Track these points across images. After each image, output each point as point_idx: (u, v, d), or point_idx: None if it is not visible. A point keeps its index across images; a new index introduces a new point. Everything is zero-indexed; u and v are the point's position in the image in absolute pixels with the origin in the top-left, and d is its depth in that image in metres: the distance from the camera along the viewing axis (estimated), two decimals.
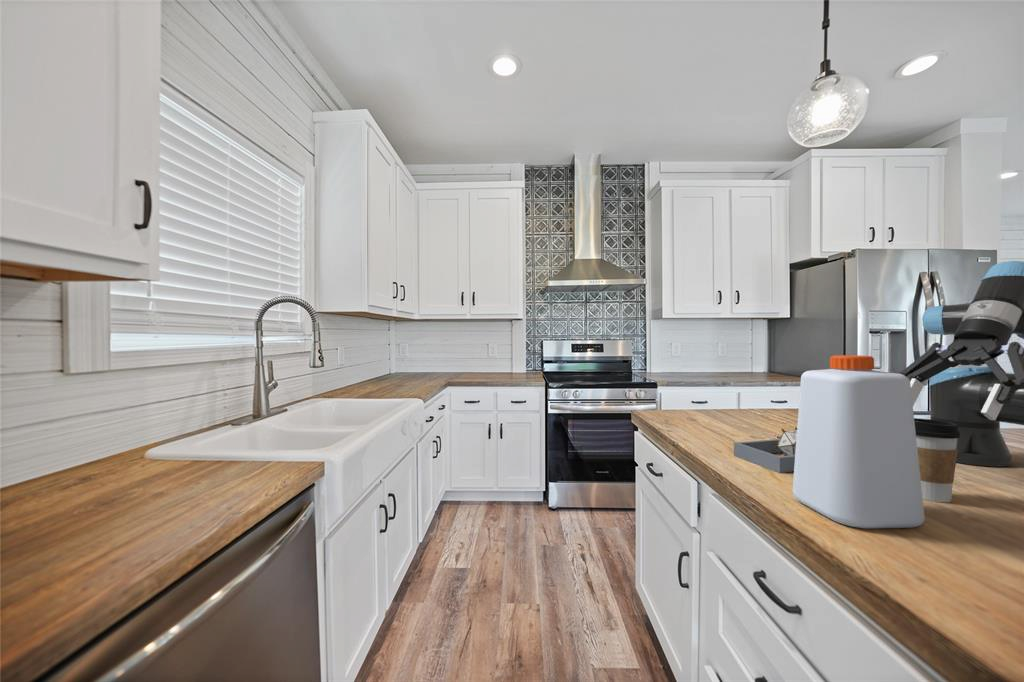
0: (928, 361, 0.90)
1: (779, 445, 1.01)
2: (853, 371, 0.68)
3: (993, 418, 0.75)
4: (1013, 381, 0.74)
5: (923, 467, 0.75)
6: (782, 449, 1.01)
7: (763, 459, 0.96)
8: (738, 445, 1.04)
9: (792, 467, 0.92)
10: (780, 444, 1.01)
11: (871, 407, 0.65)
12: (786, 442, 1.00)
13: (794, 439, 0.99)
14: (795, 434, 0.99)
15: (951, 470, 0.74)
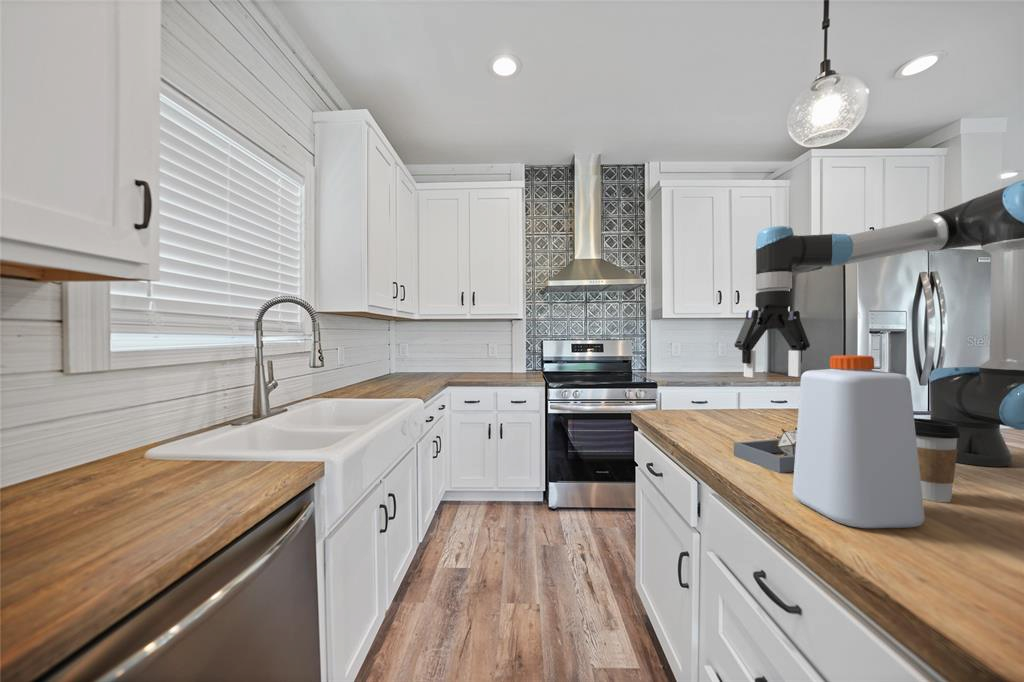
0: (794, 328, 1.00)
1: (779, 445, 1.01)
2: (853, 371, 0.68)
3: None
4: None
5: (923, 467, 0.75)
6: (782, 449, 1.01)
7: (763, 459, 0.96)
8: (738, 445, 1.04)
9: (792, 467, 0.92)
10: (780, 444, 1.01)
11: (871, 407, 0.65)
12: (786, 441, 1.00)
13: (794, 439, 0.99)
14: (795, 434, 0.99)
15: (951, 470, 0.74)
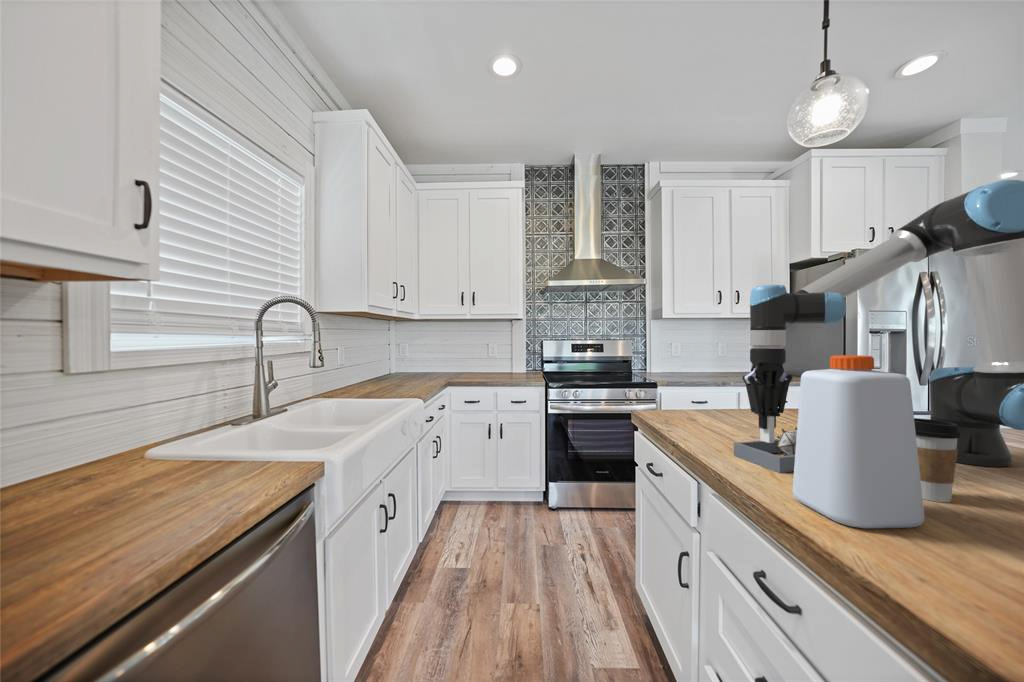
0: (779, 390, 1.00)
1: (779, 445, 1.01)
2: (853, 371, 0.68)
3: (767, 442, 0.98)
4: None
5: (923, 467, 0.75)
6: (782, 449, 1.01)
7: (763, 459, 0.96)
8: (738, 445, 1.04)
9: (792, 467, 0.92)
10: (781, 444, 1.01)
11: (871, 407, 0.65)
12: (786, 442, 1.00)
13: (794, 439, 0.98)
14: (795, 434, 0.99)
15: (951, 470, 0.74)
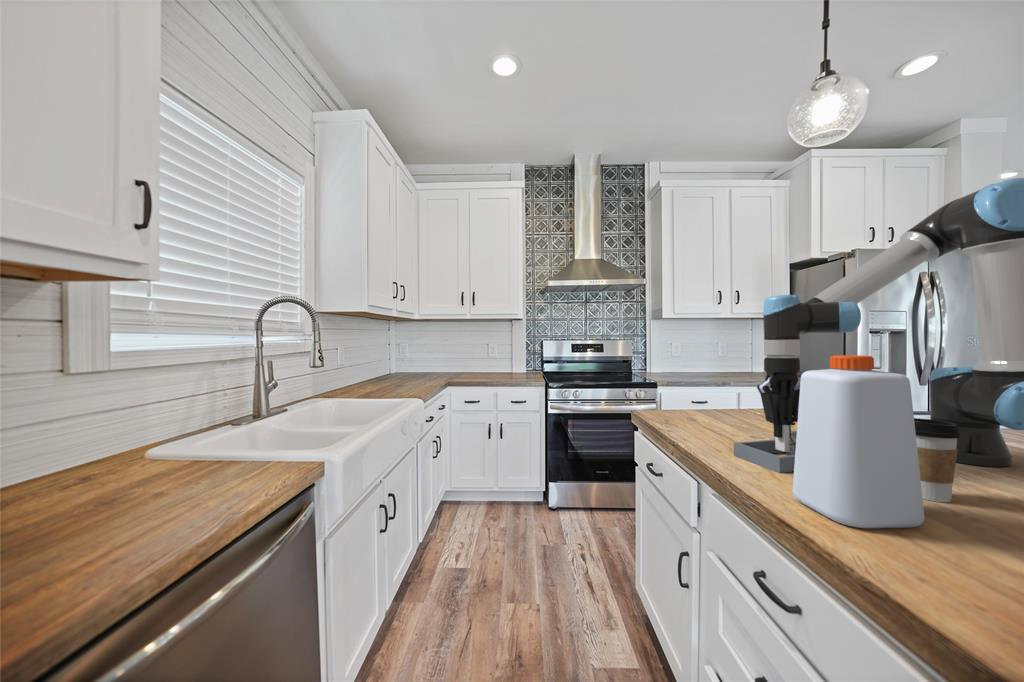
0: (793, 399, 1.01)
1: None
2: (853, 371, 0.68)
3: (782, 450, 0.99)
4: None
5: (923, 467, 0.75)
6: None
7: (763, 459, 0.96)
8: (738, 445, 1.04)
9: (792, 467, 0.92)
10: None
11: (871, 407, 0.65)
12: None
13: None
14: None
15: (951, 470, 0.74)
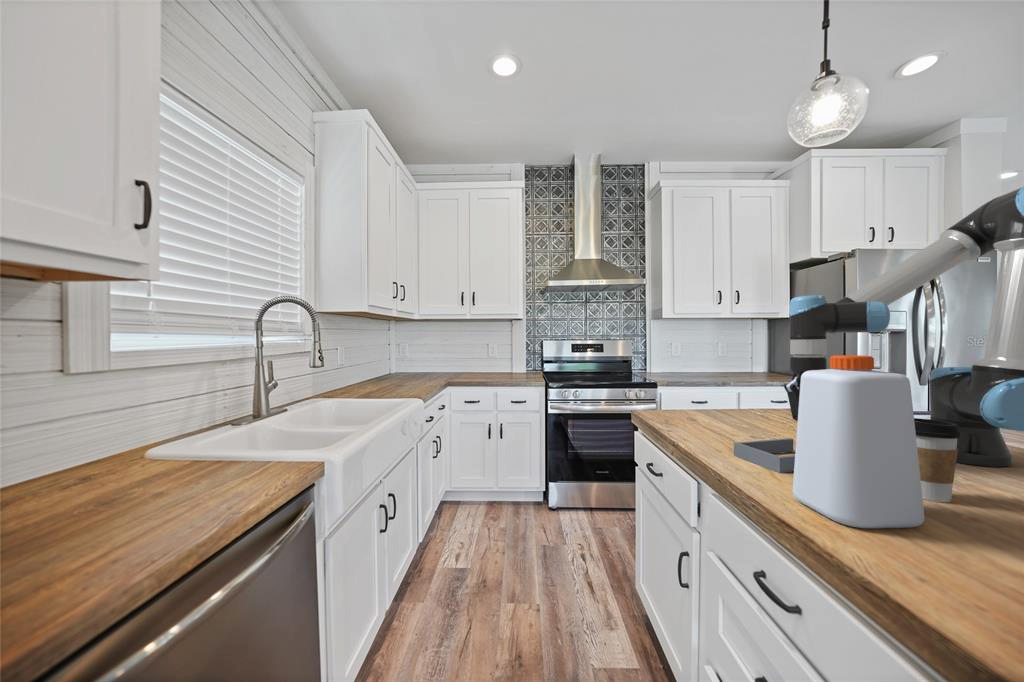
0: None
1: None
2: (853, 371, 0.68)
3: None
4: None
5: (923, 467, 0.75)
6: None
7: (763, 459, 0.96)
8: (738, 445, 1.04)
9: (792, 467, 0.92)
10: None
11: (871, 407, 0.65)
12: None
13: None
14: None
15: (951, 470, 0.74)
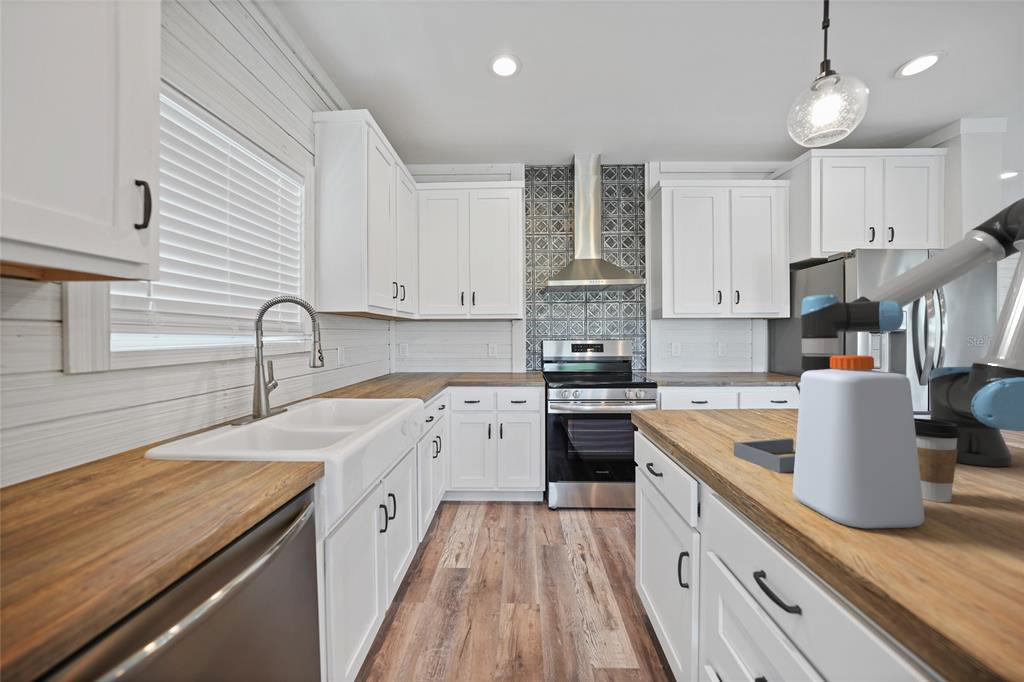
0: None
1: None
2: (853, 371, 0.68)
3: None
4: None
5: (923, 467, 0.75)
6: None
7: (763, 459, 0.96)
8: (738, 445, 1.04)
9: (792, 467, 0.92)
10: None
11: (871, 407, 0.65)
12: None
13: None
14: None
15: (951, 470, 0.74)
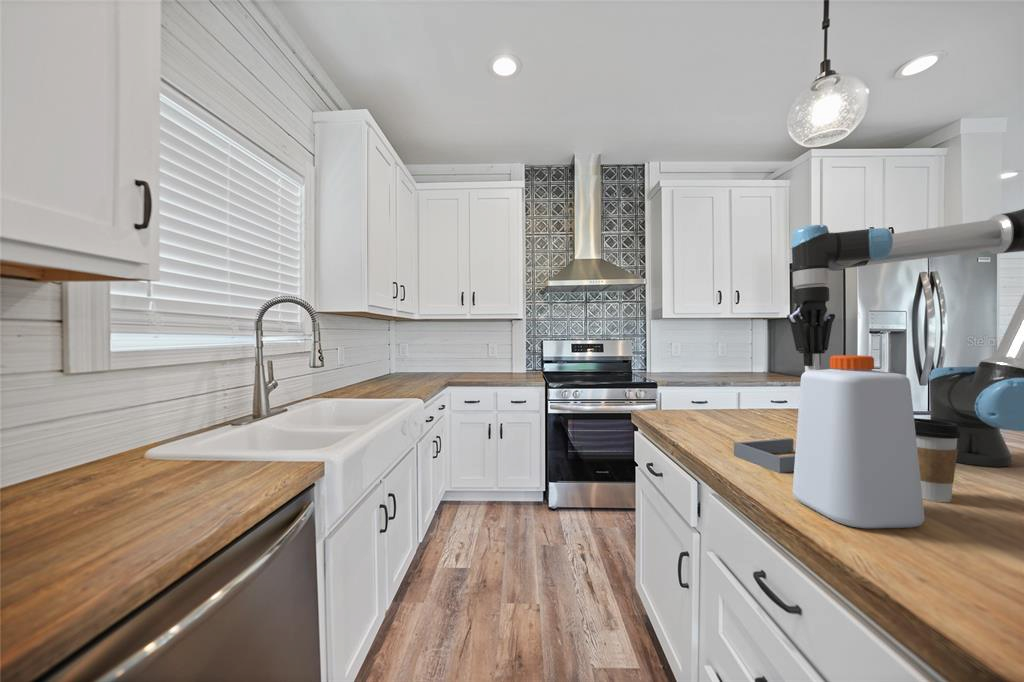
0: (822, 329, 1.03)
1: None
2: (853, 371, 0.68)
3: None
4: None
5: (923, 467, 0.75)
6: None
7: (763, 459, 0.96)
8: (738, 445, 1.04)
9: (792, 467, 0.92)
10: None
11: (871, 407, 0.65)
12: None
13: None
14: None
15: (951, 470, 0.74)
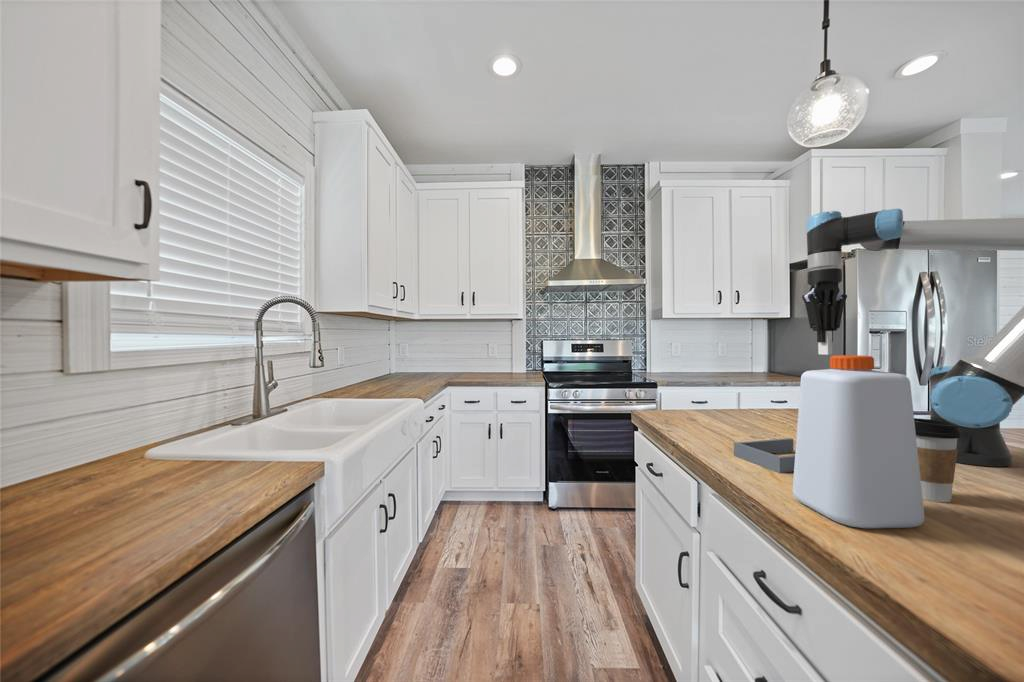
0: (835, 308, 1.11)
1: None
2: (853, 371, 0.68)
3: (826, 354, 1.09)
4: None
5: (923, 467, 0.75)
6: None
7: (763, 459, 0.96)
8: (738, 445, 1.04)
9: (792, 467, 0.92)
10: None
11: (871, 407, 0.65)
12: None
13: None
14: None
15: (951, 470, 0.74)
